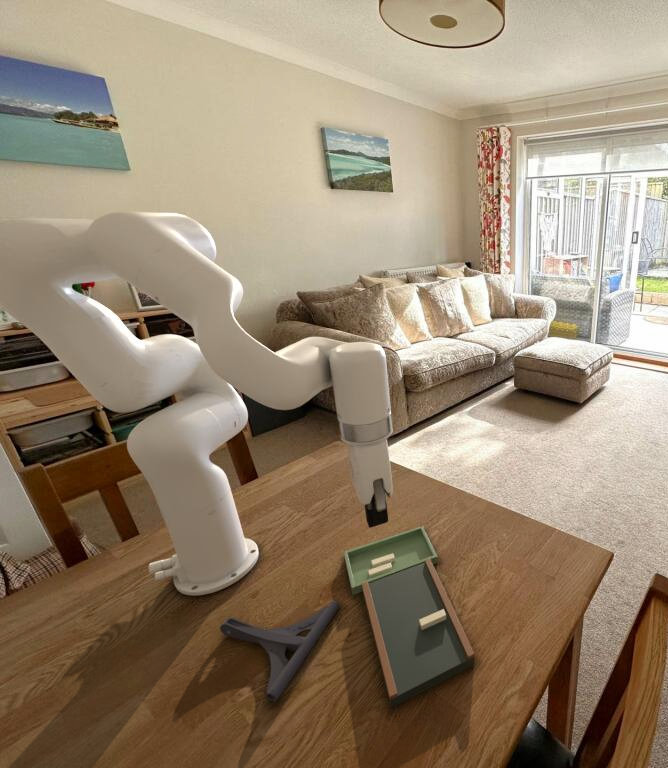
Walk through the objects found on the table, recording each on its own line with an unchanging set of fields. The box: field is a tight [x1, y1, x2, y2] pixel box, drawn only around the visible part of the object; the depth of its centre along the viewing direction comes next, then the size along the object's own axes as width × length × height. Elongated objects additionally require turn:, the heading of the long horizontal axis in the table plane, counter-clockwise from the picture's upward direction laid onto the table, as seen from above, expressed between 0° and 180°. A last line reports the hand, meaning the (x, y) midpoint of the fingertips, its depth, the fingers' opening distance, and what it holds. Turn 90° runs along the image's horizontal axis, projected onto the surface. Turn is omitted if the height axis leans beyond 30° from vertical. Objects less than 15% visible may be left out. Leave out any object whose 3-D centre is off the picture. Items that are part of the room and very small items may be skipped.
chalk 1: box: [371, 554, 395, 568], centre depth 75 cm, size 4×1×1 cm, turn 118°
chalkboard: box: [362, 558, 475, 709], centre depth 63 cm, size 12×20×2 cm, turn 29°
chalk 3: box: [419, 609, 446, 630], centre depth 62 cm, size 4×1×1 cm, turn 119°
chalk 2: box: [368, 563, 392, 579], centre depth 73 cm, size 4×1×1 cm, turn 119°
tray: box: [343, 525, 439, 596], centre depth 76 cm, size 15×9×2 cm, turn 119°
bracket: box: [219, 600, 341, 703], centre depth 60 cm, size 14×15×3 cm
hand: (377, 522), depth 67 cm, fingers closed
